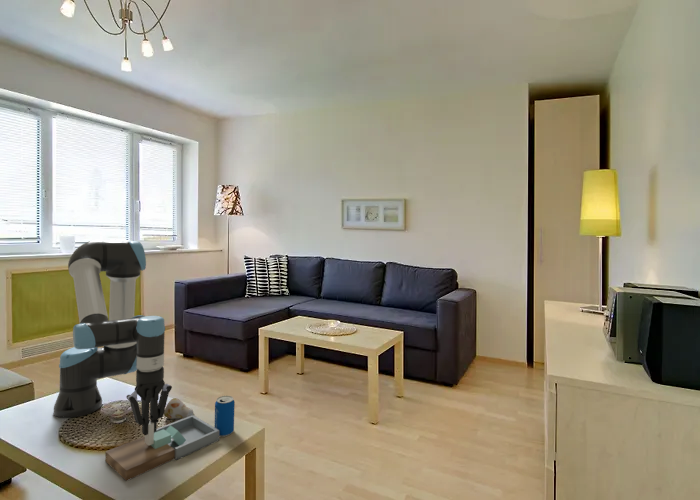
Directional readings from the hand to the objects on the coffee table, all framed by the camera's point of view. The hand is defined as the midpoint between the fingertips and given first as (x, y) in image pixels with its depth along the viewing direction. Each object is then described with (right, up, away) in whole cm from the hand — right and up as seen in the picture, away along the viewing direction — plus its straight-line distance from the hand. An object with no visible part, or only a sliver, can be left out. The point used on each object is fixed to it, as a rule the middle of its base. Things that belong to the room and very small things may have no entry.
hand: (149, 443), depth 122 cm
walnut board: (-2, -4, -2) cm, 5 cm away
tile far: (+5, -2, +6) cm, 7 cm away
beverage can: (+18, -4, +16) cm, 24 cm away
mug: (-1, -3, +25) cm, 25 cm away
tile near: (+2, -1, +3) cm, 3 cm away
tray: (+7, -4, +10) cm, 13 cm away
